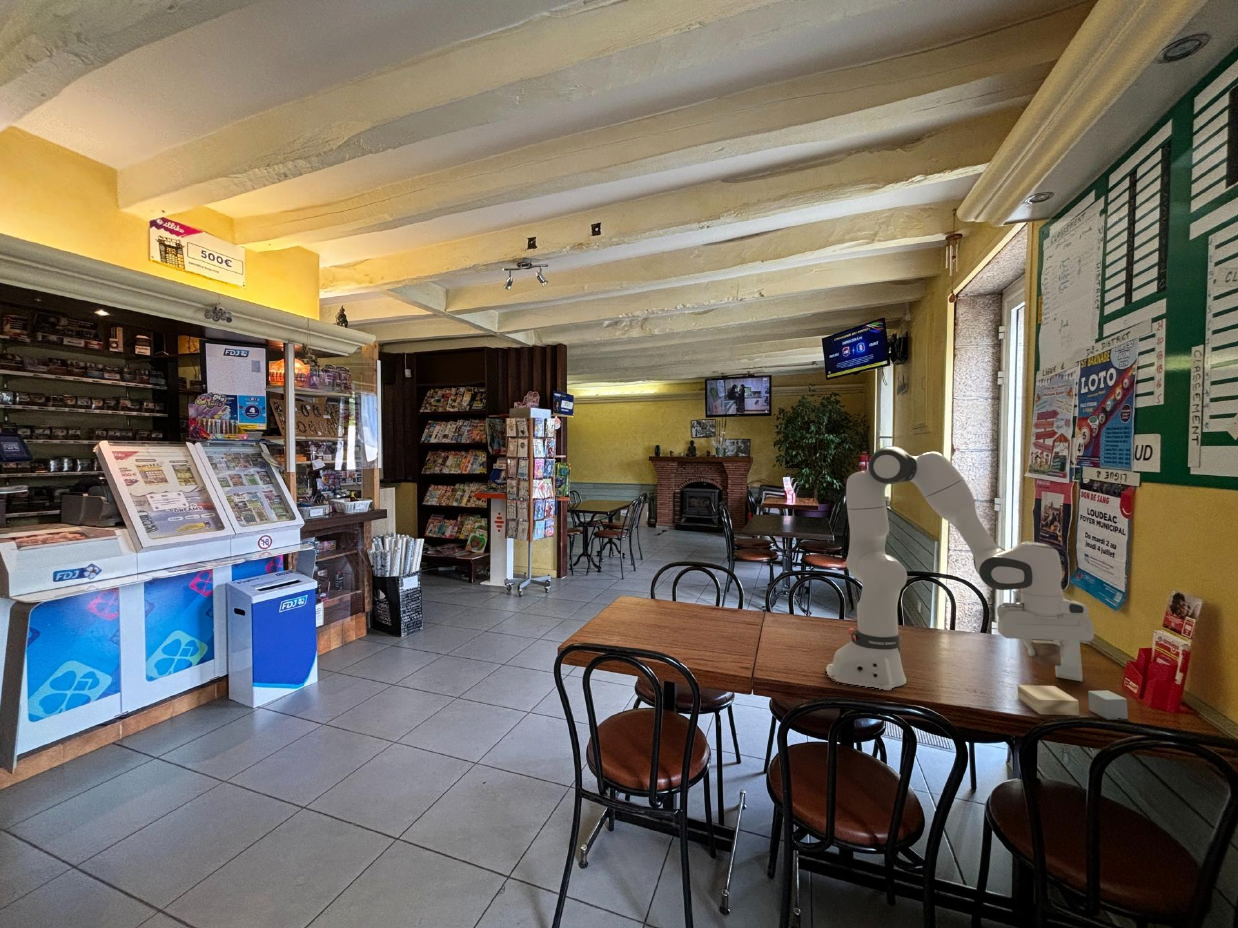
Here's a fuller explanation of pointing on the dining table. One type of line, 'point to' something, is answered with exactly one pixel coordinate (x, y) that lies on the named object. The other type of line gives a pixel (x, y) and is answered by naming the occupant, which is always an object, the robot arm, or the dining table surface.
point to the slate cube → (1108, 704)
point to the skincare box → (1070, 662)
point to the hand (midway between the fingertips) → (1045, 655)
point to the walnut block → (1046, 653)
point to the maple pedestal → (1048, 700)
